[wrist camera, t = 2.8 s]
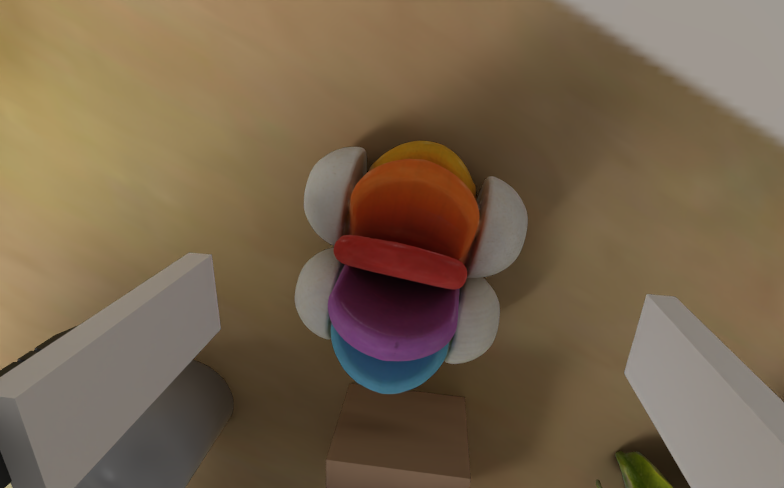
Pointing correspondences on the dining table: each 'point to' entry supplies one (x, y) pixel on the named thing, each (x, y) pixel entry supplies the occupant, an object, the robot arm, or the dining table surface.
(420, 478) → the walnut block
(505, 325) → the dining table surface
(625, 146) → the dining table surface
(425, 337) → the rainbow cloud toy
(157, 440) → the grey cylinder
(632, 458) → the passion flower
